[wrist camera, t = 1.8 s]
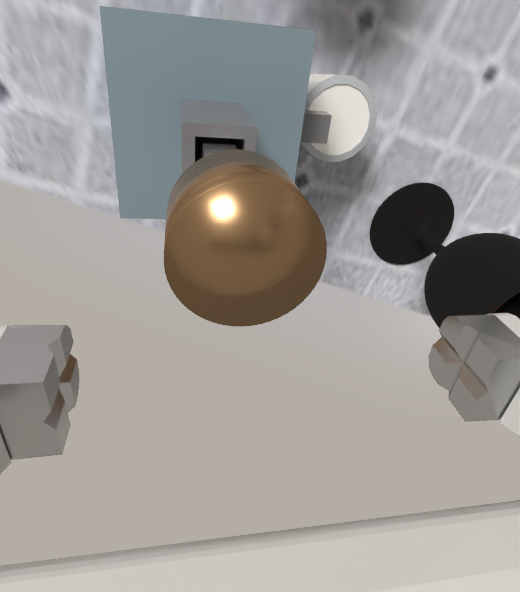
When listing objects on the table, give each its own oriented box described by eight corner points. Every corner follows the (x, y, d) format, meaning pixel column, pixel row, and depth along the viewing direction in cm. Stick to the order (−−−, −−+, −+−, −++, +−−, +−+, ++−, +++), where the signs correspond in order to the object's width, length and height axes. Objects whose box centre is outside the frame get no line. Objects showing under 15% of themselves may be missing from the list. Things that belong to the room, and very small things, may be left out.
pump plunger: (268, 111, 20) (341, 184, 11) (259, 205, 23) (312, 324, 14) (168, 104, 19) (160, 176, 10) (171, 202, 22) (166, 328, 13)
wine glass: (362, 265, 51) (450, 381, 35) (377, 183, 45) (491, 275, 29) (439, 260, 52) (558, 369, 36) (464, 180, 47) (618, 266, 30)
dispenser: (304, 31, 36) (420, 40, 19) (287, 168, 43) (361, 268, 25) (126, 11, 33) (71, 0, 16) (137, 161, 40) (105, 268, 23)
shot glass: (318, 157, 43) (340, 178, 37) (266, 116, 40) (280, 132, 34) (363, 97, 40) (394, 110, 34) (311, 49, 37) (335, 54, 31)
